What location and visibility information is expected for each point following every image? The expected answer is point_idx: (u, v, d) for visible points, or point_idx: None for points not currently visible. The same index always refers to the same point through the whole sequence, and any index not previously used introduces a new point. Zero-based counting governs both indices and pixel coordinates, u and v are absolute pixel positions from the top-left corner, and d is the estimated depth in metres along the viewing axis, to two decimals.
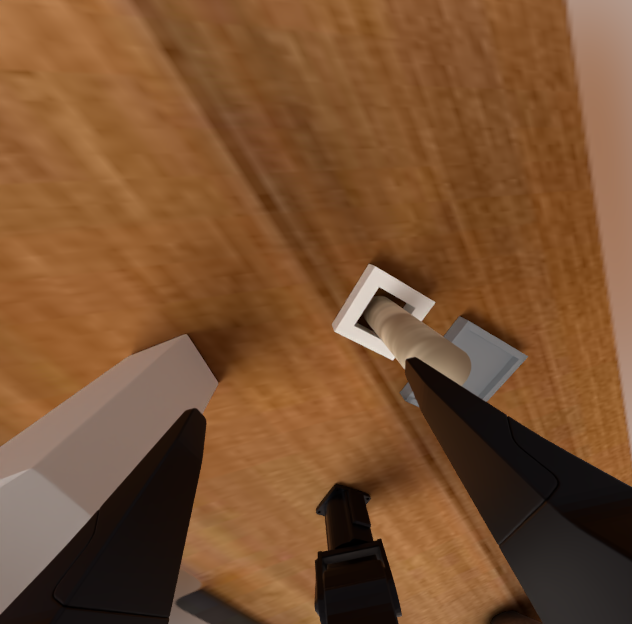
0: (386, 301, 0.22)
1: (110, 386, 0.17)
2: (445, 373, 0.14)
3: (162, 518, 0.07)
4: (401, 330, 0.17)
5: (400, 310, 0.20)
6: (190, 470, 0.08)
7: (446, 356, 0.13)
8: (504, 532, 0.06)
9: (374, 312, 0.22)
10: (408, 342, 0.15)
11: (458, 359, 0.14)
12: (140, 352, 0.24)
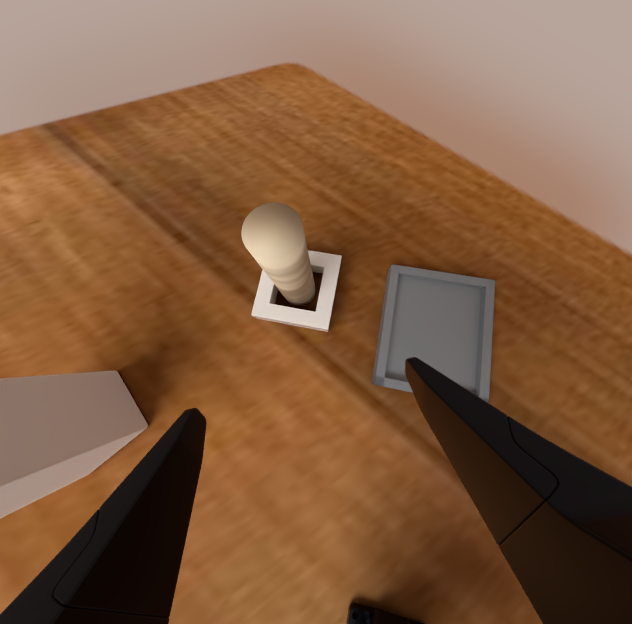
0: None
1: None
2: (274, 230, 0.13)
3: (162, 518, 0.07)
4: None
5: None
6: (190, 470, 0.08)
7: (265, 213, 0.13)
8: (504, 532, 0.06)
9: None
10: None
11: (280, 212, 0.13)
12: None
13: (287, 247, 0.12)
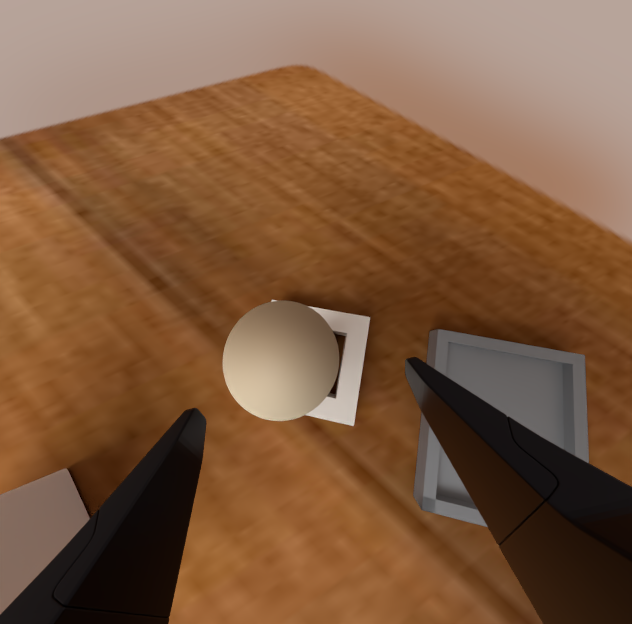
0: None
1: None
2: (284, 358, 0.07)
3: (162, 518, 0.07)
4: None
5: None
6: (190, 470, 0.08)
7: (268, 322, 0.07)
8: (504, 532, 0.06)
9: None
10: None
11: (295, 321, 0.07)
12: None
13: (309, 395, 0.06)
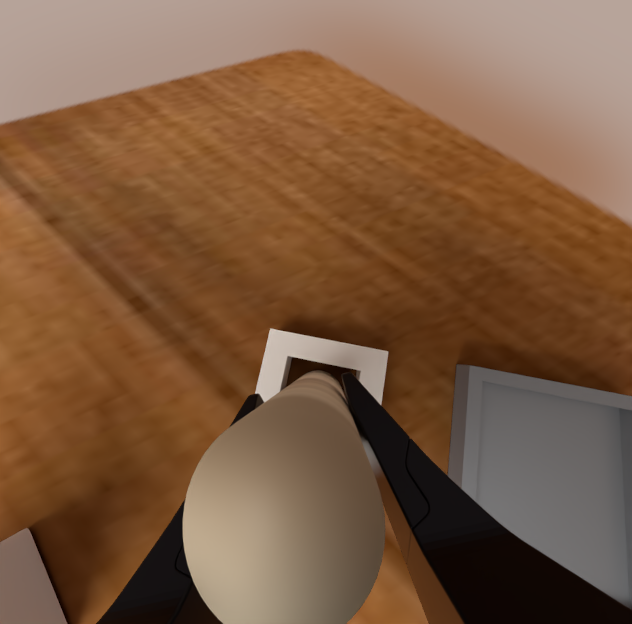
0: (306, 374, 0.14)
1: None
2: (288, 520, 0.04)
3: None
4: None
5: (303, 377, 0.11)
6: None
7: (261, 449, 0.04)
8: (405, 553, 0.06)
9: None
10: None
11: (307, 449, 0.04)
12: None
13: (333, 597, 0.04)
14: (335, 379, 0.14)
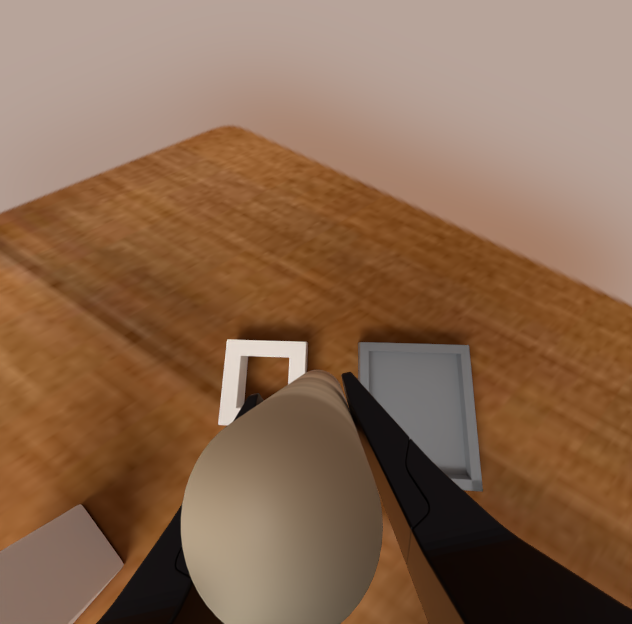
0: (305, 373, 0.14)
1: None
2: (286, 518, 0.04)
3: None
4: None
5: (302, 377, 0.11)
6: None
7: (259, 447, 0.04)
8: (405, 554, 0.06)
9: None
10: None
11: (305, 447, 0.04)
12: None
13: (331, 595, 0.04)
14: (334, 378, 0.14)
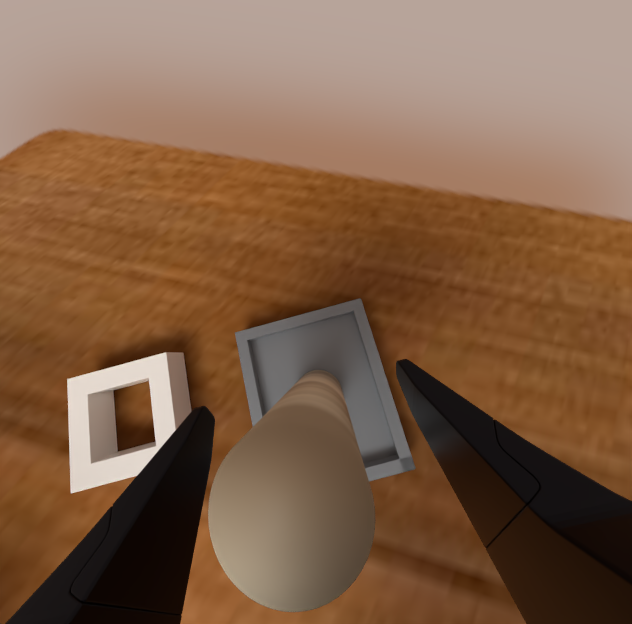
0: (307, 374, 0.15)
1: None
2: (295, 512, 0.05)
3: (174, 515, 0.07)
4: None
5: (305, 380, 0.12)
6: (200, 468, 0.08)
7: (272, 454, 0.05)
8: (490, 535, 0.06)
9: None
10: None
11: (311, 454, 0.05)
12: None
13: (333, 573, 0.04)
14: (335, 379, 0.15)
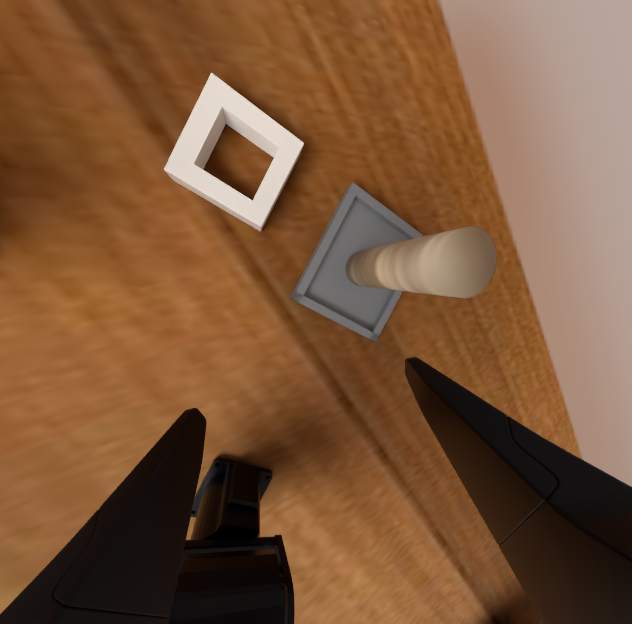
0: None
1: None
2: (470, 265, 0.11)
3: (162, 518, 0.07)
4: (413, 239, 0.14)
5: None
6: (190, 470, 0.08)
7: (478, 241, 0.11)
8: (504, 532, 0.06)
9: (367, 250, 0.19)
10: (427, 236, 0.13)
11: (487, 253, 0.11)
12: None
13: (464, 290, 0.11)
14: None
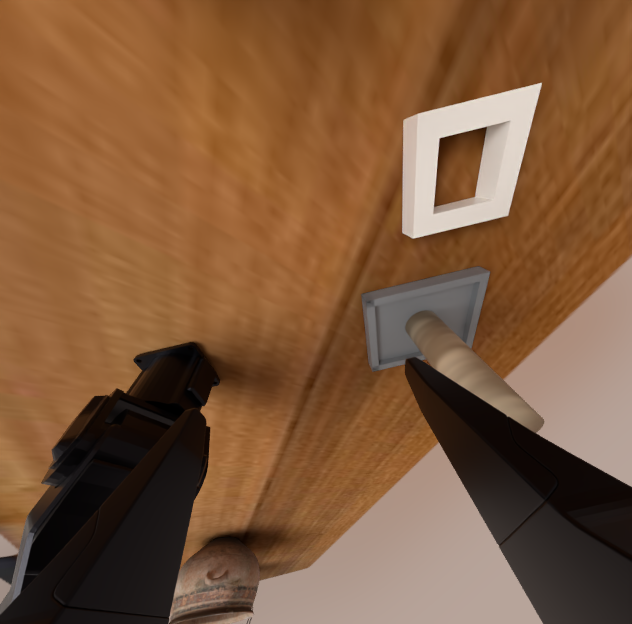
0: None
1: None
2: None
3: (162, 518, 0.07)
4: (493, 371, 0.17)
5: None
6: (190, 470, 0.08)
7: (533, 427, 0.14)
8: (504, 532, 0.06)
9: (445, 327, 0.21)
10: (509, 388, 0.15)
11: None
12: None
13: None
14: None
